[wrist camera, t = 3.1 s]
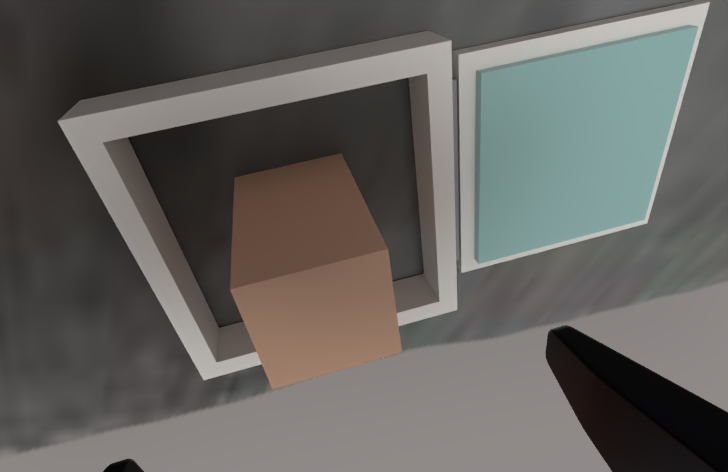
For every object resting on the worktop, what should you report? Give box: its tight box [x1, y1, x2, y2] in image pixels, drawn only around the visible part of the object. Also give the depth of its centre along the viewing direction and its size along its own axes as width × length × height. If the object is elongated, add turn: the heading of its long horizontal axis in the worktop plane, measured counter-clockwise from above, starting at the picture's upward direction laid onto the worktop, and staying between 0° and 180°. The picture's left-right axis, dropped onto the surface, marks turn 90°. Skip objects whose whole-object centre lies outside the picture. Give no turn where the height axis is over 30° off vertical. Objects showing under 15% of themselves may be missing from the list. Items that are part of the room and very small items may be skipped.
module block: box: [230, 153, 402, 389], centre depth 18 cm, size 5×5×8 cm
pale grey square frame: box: [58, 31, 457, 380], centre depth 20 cm, size 14×15×2 cm
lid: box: [452, 1, 710, 273], centre depth 22 cm, size 13×12×1 cm
